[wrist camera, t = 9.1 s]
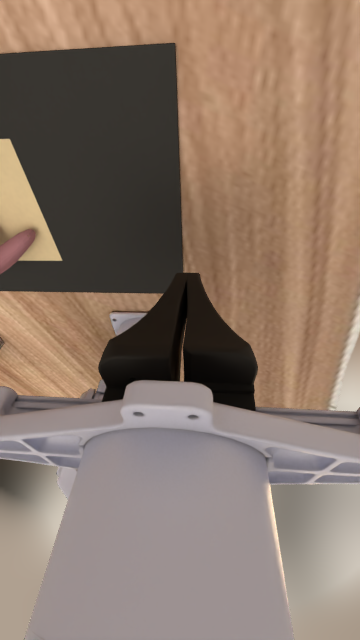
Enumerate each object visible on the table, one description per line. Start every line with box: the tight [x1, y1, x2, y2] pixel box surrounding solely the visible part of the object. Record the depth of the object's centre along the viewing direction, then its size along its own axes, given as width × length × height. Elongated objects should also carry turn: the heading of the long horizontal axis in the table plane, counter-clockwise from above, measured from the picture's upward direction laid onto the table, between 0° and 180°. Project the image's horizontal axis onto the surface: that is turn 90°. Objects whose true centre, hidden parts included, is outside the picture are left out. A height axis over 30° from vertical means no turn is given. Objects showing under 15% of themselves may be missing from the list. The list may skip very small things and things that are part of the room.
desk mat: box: [0, 43, 183, 293], centre depth 21 cm, size 18×26×1 cm
